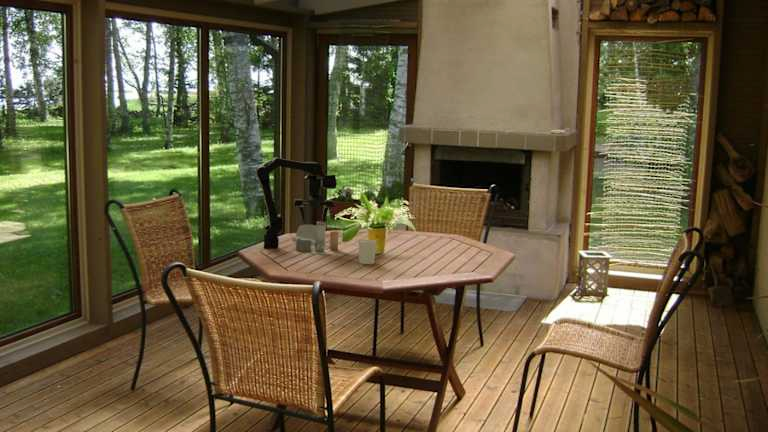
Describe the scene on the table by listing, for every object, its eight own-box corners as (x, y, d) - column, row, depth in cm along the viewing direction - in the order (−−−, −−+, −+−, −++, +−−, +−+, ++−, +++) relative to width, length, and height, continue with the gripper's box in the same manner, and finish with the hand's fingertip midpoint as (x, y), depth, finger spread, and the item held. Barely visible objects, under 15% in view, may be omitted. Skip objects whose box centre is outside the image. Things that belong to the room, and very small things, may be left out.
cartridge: (314, 252, 386) (316, 222, 384) (314, 250, 390) (316, 221, 388) (324, 252, 387) (326, 223, 384) (324, 250, 391) (325, 221, 389)
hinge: (291, 240, 414) (297, 221, 415) (298, 242, 418) (303, 223, 419) (315, 246, 404) (321, 226, 405) (321, 248, 407) (327, 228, 408)
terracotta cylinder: (329, 250, 394) (330, 232, 393) (329, 249, 398) (329, 230, 397) (338, 250, 395) (338, 232, 393) (337, 249, 398) (338, 230, 397)
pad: (311, 254, 384) (311, 253, 384) (310, 250, 392) (310, 249, 392) (328, 254, 385) (328, 253, 385) (327, 250, 393) (327, 250, 393)
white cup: (378, 263, 371) (380, 241, 369) (365, 265, 366) (366, 243, 364) (367, 260, 377) (368, 238, 375) (354, 262, 371) (355, 240, 370)
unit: (296, 250, 390) (296, 238, 390) (295, 248, 395) (296, 237, 394) (310, 250, 391) (311, 239, 390) (310, 248, 396) (310, 237, 395)
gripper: (295, 190, 387) (294, 222, 389) (334, 191, 389) (333, 224, 392) (294, 187, 398) (293, 219, 400) (333, 188, 400) (332, 220, 403)
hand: (313, 220), depth 398 cm, fingers open, 9 cm apart
